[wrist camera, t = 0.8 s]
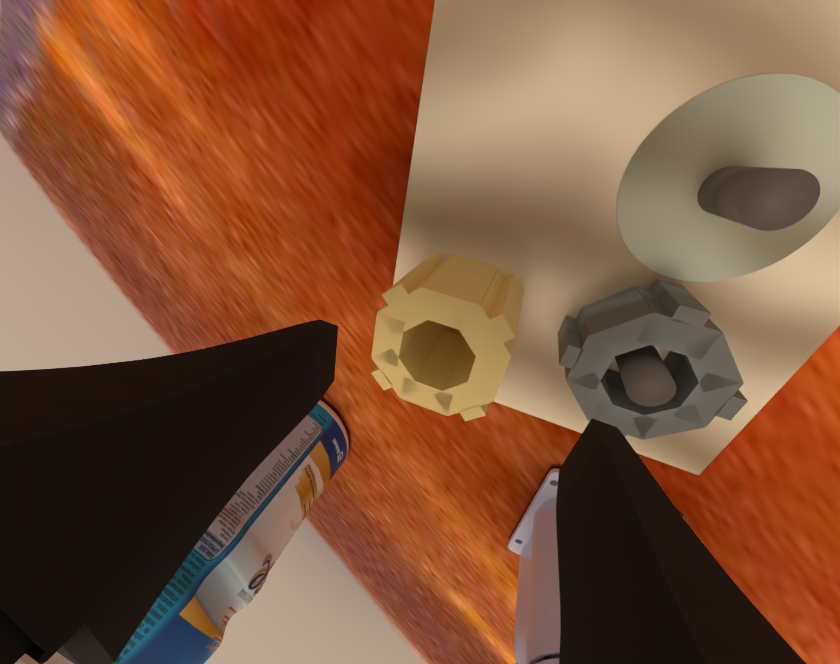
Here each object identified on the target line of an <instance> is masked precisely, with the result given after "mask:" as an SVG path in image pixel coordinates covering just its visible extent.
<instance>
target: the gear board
mask: <svg viewBox="0 0 840 664" xmlns="http://www.w3.org/2000/svg"><path fill="white" fill-rule="evenodd" d="M437 252H439V253H440V255H441V257H442V258H443V260H445V259H447V258H448V257H450V256H452V255H453V254H455V255H459V256H463V257H466V258H470V259H473V260H477V261H480V262H484V263H488V264H491V265H495V266H498V267H499V268H500V270H501V272H502V273H503V275H504V277H507V276H509V275H511V274H513V273H515V275H516V276H517V278H518V280H519V282H520V284H521V286H522V287H523V289H524V295H523V301H522V306H521V311H520V317H519V322H518V328H517V333H516V338H514V343H513V348H512V353H511V358H510V360H509V363H508V366H507V368H506V371H505V373H504V376H503V378H502V381H501V384H500V386H499V389H498V391H497V394H496V397H495V399H494V402H496V403H499V404H502V405H505V406H507V407H510V408H513V409H516V410H519V411H521V412H524V413H527V414H530V415H532V416H535V417H538V418H541V419H544V420H546V421H549V422H552V423H555V424H557V425H560V426H563V427H566V428H568V429H571V430H574V431H577V432H580V433H583V431H584V430H585V428H586V427H587V425H588V423H589V422H590V420H591V419H592V418H593V419H596V420H598V421H601V422H604V423H607V424H610V425H612V426H615V427H617V428H618V429H619V430H620V431H621V433H622V434H623V435H624V437H625V438H626V439H627V441H628V442H629V443H630V445H631V446H632V448H633V449H634V450H635V452H636V453H638V454H641V455H643V456H646V457H649V458H652V459H654V460H657V461H660V462H663V463H666V464H668V465H671V466H674V467H677V468H679V469H682V470H685V471H688V472H690V473H693V474H696V475H699V474H700V473H701V472H702V471H703V470H704V469H705V468H706V467H707V466H708V465H709V464H710V463H711V462H712V461H713V460H714V458H715V457H716V456H717V455H718V454H719V453H720V452H721V451H722V450H723V449H724V448H725V447H726V446H727V445H728V444H729V443H730V441H731V440H732V439H733V438H734V437H735V436H736V435H737V434H738V433H739V432H740V431H741V430H742V429H743V428H744V427H745V426H746V424H747V423H748V422H749V421H750V420H751V419H752V418H753V417H754V416H755V415H756V414H757V413H758V412H759V411H760V410H761V409H762V407H763V406H764V405H765V404H766V403H767V402H768V401H769V400H770V399H771V398H772V397H773V396H774V395H775V394H776V393H777V392H778V390H779V389H780V388H781V387H782V386H783V385H784V384H785V383H786V382H787V381H788V380H789V379H790V378H791V377H792V376H793V375H794V373H795V372H796V371H797V370H798V369H799V368H800V367H801V366H802V365H803V364H804V363H805V362H806V361H807V360H808V359H809V358H810V356H811V355H812V354H813V353H814V352H815V351H816V350H817V349H818V348H819V347H820V346H821V345H822V344H823V343H824V342H825V341H826V339H827V338H828V337H829V336H830V335H831V334H832V333H833V332H834V331H835V330H836V329H837V328H838V327H839V326H840V0H435V4H434V11H433V18H432V25H431V31H430V38H429V45H428V52H427V58H426V65H425V72H424V79H423V86H422V92H421V99H420V106H419V113H418V119H417V126H416V133H415V140H414V146H413V153H412V160H411V167H410V173H409V180H408V187H407V194H406V201H405V207H404V214H403V221H402V228H401V234H400V241H399V248H398V255H397V261H396V268H395V275H394V282H393V285H394V284H395V283H397V282H398V281H399V280H400V279H401V278H403V277H404V276H405V275H406V274H408V273H409V272H410V271H411V270H412V269H414V268H415V267H416V266H417V265H419V264H420V263H421V262H422V261H424V260H425V259H427V258H429V257H430V256H432V255H434V254H435V253H437ZM442 326H443V327H444V329H445V330H446V331H449V332H452V333H455V334H458V335H461V336H463V335H462V334H461V332H460V330H458V329H455V328H452V327H449V326H445V325H442Z"/></svg>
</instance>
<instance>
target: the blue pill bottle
mask: <svg viewBox="0 0 840 664" xmlns="http://www.w3.org/2000/svg"><path fill="white" fill-rule="evenodd" d="M348 448H349V441H348V436H347V432H346V430H345V427H344V425H343V423H342V422H341V420H340V419H339V417H338V416H337V415H336V413H335V412H334V411H333V410H332V409H331V408H330V407H329V406H328V405H326V404H325V403H324V402H323V401H321V400H320V401H319V402H318V403H317V405H316V406H315V407H314V408H313V409H312V410H311V412H310V413H309V414H308V415H307V416H306V417H305V418H304V419H303V420H302V421H301V422H300V423H299V424H298V425H297V426H296V427H295V428H294V429H293V430H292V432H291V433H290V434H289V435H288V436H287V437H286V438H285V439H284V440H283V441H282V442H281V443H280V444H279V445H278V446H277V447H276V448H275V449H274V450H273V451H272V452H271V453H270V454H269V455H268V456H267V457H266V459H265V460H264V461H263V462H262V463H261V464H260V465H259V466H258V467H257V468H256V469H255V470H254V472H253V473H252V474H251V475H250V476H249V477H248V478H247V479H246V481H245V482H244V483H243V484H242V486H241V487H240V488H239V489H238V491H237V492H236V493H235V495H234V496H233V497H232V498H231V500H230V501H229V502H228V503H227V505H226V506H225V507H224V508H223V510H222V511H221V512H220V514H219V515H218V516H217V517H216V519H215V520H214V521H213V523H212V524H211V525H210V527H209V528H208V529H207V531H206V532H205V533H204V535H203V536H202V537H201V539H200V540H199V541H198V543H197V544H196V545H195V547H194V548H193V549H192V551H191V552H190V554H189V555H188V556H187V558H186V559H185V560H184V562H183V563H182V565H181V566H180V567H179V569H178V570H177V572H176V573H175V574H174V576H173V577H172V579H171V580H170V581H169V583H168V584H167V586H166V587H165V588H164V590H163V591H162V593H161V594H160V596H159V597H158V598H157V600H156V601H155V603H154V604H153V606H152V607H151V609H150V610H149V612H148V613H147V615H146V616H145V618H144V619H143V621H142V622H141V624H140V625H139V627H138V628H137V630H136V631H135V632H134V634H133V635H132V637H131V638H130V640H129V641H128V643H127V644H126V646H125V647H124V649H123V651H122V652H121V654H120V655H119V657H118V658H117V660H116V661H115V663H113V664H204V663H205V662H206V660H208V659H209V658H210V656H211V655H212V654H213V653H214V652H215V651H216V650H217V648H218V647H219V645H220V644H221V642H222V639H223V635H224V631H225V627H226V625H227V623H228V621H229V619H230V618H231V617H232V616H233V615H234V614H235V613H236V612H238V611H239V610H241V609H242V608H243V607H244V606H246V605H247V604H249V603H250V602H251V600H252V599H253V598H254V597H255V595H256V594H257V593H258V591H259V590H260V589H261V587H262V586H263V584H264V582H265V580H266V578H267V575H268V572H269V571H270V569H271V568H272V566H273V565H274V563H275V562H276V560H277V559H278V557H279V556H280V554H281V553H282V551H283V550H284V548H285V547H286V545H287V544H288V542H289V541H290V539H291V538H292V536H293V535H294V533H295V532H296V530H297V529H298V527H299V526H300V524H301V523H302V521H303V520H304V518H305V517H306V515H307V514H308V512H309V511H310V509H311V508H312V506H313V505H314V503H315V502H316V500H317V499H318V497H319V496H320V494H321V493H322V491H323V490H324V488H325V487H326V485H327V484H328V482H329V481H330V480H331V478H332V477H333V475H334V474H335V472H336V471H337V470H338V469H339V467H340V466H341V464H342V463H343V461H344V460H345V458H346V456H347V453H348ZM15 664H39V663H38V662H36V661H35V660H34V659H32V658H31V657H29V656H28V655H27V654H24V655H23V656H22V657H21V658H20V659H19V660H18V661H17V662H16V663H15ZM43 664H74V663H72V662H71V661H69V660H68V659H66V658H65V657H63V656H62V655H61V654H59V653H58V652H56V653H55V654H54V655H53V656H52V657H51V658H50V659H49V660H48V661H47V662H45V663H43Z"/></svg>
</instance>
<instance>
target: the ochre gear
mask: <svg viewBox="0 0 840 664" xmlns="http://www.w3.org/2000/svg"><path fill="white" fill-rule="evenodd" d="M523 295H524V289H523V287H522V286H521V284H520V282H519V280H518V278H517V276H516V275H515V273H513V274H511V275H509V276H507V277H504V275H503V273H502V272H501V270H500V268H499V267H498V266H495V265H491V264H488V263H484V262H480V261H477V260H473V259H470V258H466V257H463V256H459V255H455V254H453V255H452V256H450V257H448V258H447V259H445V260H443V258H442V257H441V255H440V253H439V252H437V253H435V254H434V255H432V256H430V257H429V258H427V259H425V260H424V261H422V262H421V263H420V264H419V265H417V266H416V267H415V268H414V269H412V270H411V271H410V272H409V273H408V274H406V275H405V276H404V277H403V278H401V279H400V280H399V281H398V282H397V283H395V284H394V285H393V286H392V287H390V288H389V289H388V290H387V291H386V292H384V293H383V294H382V297H383V298H384V300H385V301H386V303H387V304H386V305H385V306H384V307H382V308H381V309H380V310H379V311H378V312H377V317H376V325H375V333H374V341H373V348H372V356H371V357H372V359H373V361H374V362H375V364H376V365H377V366H376V368H375V369H374V370H373V371H372V372H371V373H372V375H373V376H374V377H375V379H376V380H377V382H378V383H379V384H380V386H381V387H382V389H383V390H386V389H389V388H391V387H392V388H393V389H394V391H395V392H396V393H397V395H398V396H399V398H401V399H404V400H406V401H409V402H412V403H414V404H417V405H419V406H422V407H425V408H427V409H430V410H433V411H435V412H438V413H441V414H443V415H446V416H449V415H452V414H456V413H460V414H461V416H462V417H463V419H464V420H465V421H468V420H472V419H475V418H479V417H482V416H485V415H486V413H487V409H488V405H489V403H491V402H493V401H494V399H495V397H496V394H497V391H498V389H499V386H500V384H501V381H502V378H503V376H504V373H505V371H506V368H507V366H508V363H509V360H510V358H511V353H512V348H513V343H514V338H516V333H517V328H518V322H519V317H520V311H521V306H522V301H523ZM442 325H445V326H449V327H452V328H455V329H458V330H460V332H461V334H462V335H463V336H461V335H458V334H455V333H452V332H449V331H446V330H445V329H444V327H443V326H442Z"/></svg>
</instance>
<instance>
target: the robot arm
mask: <svg viewBox="0 0 840 664" xmlns="http://www.w3.org/2000/svg"><path fill="white" fill-rule="evenodd" d="M337 334H338V326H336V325H333V324H331V323H328V322H325V321H322V320H315V321H311V322H306V323H302V324H298V325H295V326H291V327H287V328H284V329H280V330H277V331H273V332H269V333H266V334H262V335H258V336H255V337H251V338H247V339H243V340H239V341H235V342H230V343H226V344H222V345H218V346H214V347H209V348H205V349H200V350H196V351H191V352H185V353H180V354H174V355H168V356H162V357H156V358H150V359H143V360H135V361H126V362H117V363H109V364H101V365H91V366H81V367H69V368H56V369H40V370H23V371H1V372H0V664H15V663H16V662H17V661H18V660H19V659H20V658H21V657H22V656H23V655H24V654H27V655H28V656H29V657H31V658H32V659H34V660H35V661H36V662H38V663H39V664H43V663H45V662H47V661H48V660H49V659H50V658H51V657H52V656H53V655H54V654H55V653H56V652H58V653H59V654H61V655H62V656H63V657H65V658H66V659H68V660H69V661H71V662H72V663H74V664H113V663H115V661H116V660H117V658H118V657H119V655H120V654H121V652H122V651H123V649H124V647H125V646H126V644H127V643H128V641H129V640H130V638H131V637H132V635H133V634H134V632H135V631H136V630H137V628H138V627H139V625H140V624H141V622H142V621H143V619H144V618H145V616H146V615H147V613H148V612H149V610H150V609H151V607H152V606H153V604H154V603H155V601H156V600H157V598H158V597H159V596H160V594H161V593H162V591H163V590H164V588H165V587H166V586H167V584H168V583H169V581H170V580H171V579H172V577H173V576H174V574H175V573H176V572H177V570H178V569H179V567H180V566H181V565H182V563H183V562H184V560H185V559H186V558H187V556H188V555H189V554H190V552H191V551H192V549H193V548H194V547H195V545H196V544H197V543H198V541H199V540H200V539H201V537H202V536H203V535H204V533H205V532H206V531H207V529H208V528H209V527H210V525H211V524H212V523H213V521H214V520H215V519H216V517H217V516H218V515H219V514H220V512H221V511H222V510H223V508H224V507H225V506H226V505H227V503H228V502H229V501H230V500H231V498H232V497H233V496H234V495H235V493H236V492H237V491H238V489H239V488H240V487H241V486H242V484H243V483H244V482H245V481H246V479H247V478H248V477H249V476H250V475H251V474H252V473H253V472H254V470H255V469H256V468H257V467H258V466H259V465H260V464H261V463H262V462H263V461H264V460H265V459H266V457H267V456H268V455H269V454H270V453H271V452H272V451H273V450H274V449H275V448H276V447H277V446H278V445H279V444H280V443H281V442H282V441H283V440H284V439H285V438H286V437H287V436H288V435H289V434H290V433H291V432H292V430H293V429H294V428H295V427H296V426H297V425H298V424H299V423H300V422H301V421H302V420H303V419H304V418H305V417H306V416H307V415H308V414H309V413H310V412H311V410H312V409H313V408H314V407H315V406H316V405H317V403H318V402H319V401H320V399H321V398H322V397H323V395H324V394H325V392H326V391H327V390H328V388H329V387H330V385H331V384H332V383H333V381H334V372H335V359H336V346H337ZM552 480H555V481H552ZM508 548H509V549H510V550H511V551H512V552H514V553H517V554H519V555H520V564H519V578H518V591H517V605H516V619H515V632H514V650H515V657H516V662H517V663H516V664H806V663H805V662H804V661H803V660H802V659H801V658H800V657H799V655H798V654H797V653H796V652H795V651H794V650H793V649H792V648H791V647H790V646H789V645H788V643H787V642H786V641H785V640H784V639H783V638H782V637H781V636H780V635H779V633H778V632H777V631H776V630H775V629H774V628H773V627H772V625H771V624H770V623H769V622H768V621H767V620H766V619H765V617H764V616H763V615H762V614H761V613H760V612H759V611H758V609H757V608H756V607H755V606H754V605H753V604H752V603H751V601H750V600H749V599H748V598H747V597H746V596H745V595H744V593H743V592H742V591H741V590H740V589H739V588H738V586H737V585H736V584H735V583H734V582H733V580H732V579H731V578H730V577H729V576H728V574H727V573H726V572H725V571H724V570H723V568H722V567H721V566H720V565H719V563H718V562H717V561H716V560H715V558H714V557H713V556H712V555H711V553H710V552H709V551H708V549H707V548H706V547H705V546H704V544H703V543H702V542H701V541H700V539H699V538H698V537H697V536H696V534H695V533H694V532H693V530H692V529H691V528H690V526H689V525H688V524H687V523H686V520H685V518H684V517H682V516H681V515H680V513H679V512H678V511H677V509H676V508H675V506H674V505H673V504H672V502H671V501H670V500H669V498H668V497H667V496H666V494H665V493H664V491H663V490H662V489H661V487H660V486H659V484H658V483H657V482H656V480H655V479H654V477H653V476H652V475H651V473H650V472H649V470H648V469H647V467H646V466H645V465H644V463H643V462H642V460H641V459H640V457H639V456H638V455H637V453H636V452H635V450H634V449H633V448H632V446H631V445H630V443H629V442H628V441H627V439H626V438H625V437H624V435H623V434H622V433H621V431H620V430H619V429H618V428H617V427H615V426H612V425H610V424H607V423H604V422H601V421H598V420H596V419H593V418H592V419H591V420H590V422H589V423H588V425H587V427H586V428H585V430H584V431H583V433H582V435H581V436H580V438H579V439H578V441H577V443H576V444H575V446H574V447H573V449H572V451H571V452H570V454H569V455H568V457H567V459H566V460H565V462H564V463H563V465H562V467H561V468H560V469H558V468H554V469H551V470H550V471H549V473H548V474H547V476H546V478H545V479H544V481H543V483H542V485H541V486H540V488H539V490H538V492H537V493H536V495H535V497H534V498H533V500H532V502H531V504H530V505H529V507H528V509H527V510H526V512H525V514H524V516H523V517H522V519H521V521H520V523H519V524H518V526H517V528H516V529H515V531H514V533H513V535H512V536H511V538H510V540H509V542H508Z"/></svg>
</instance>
